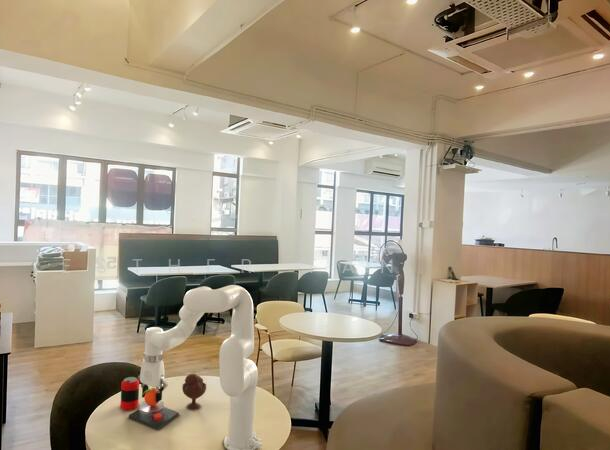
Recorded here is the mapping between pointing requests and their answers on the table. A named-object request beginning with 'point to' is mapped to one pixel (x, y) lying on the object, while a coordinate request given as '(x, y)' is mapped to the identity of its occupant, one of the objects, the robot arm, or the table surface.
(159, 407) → the pan
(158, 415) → the button
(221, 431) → the table surface
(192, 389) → the ice cream bowl
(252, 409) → the robot arm
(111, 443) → the table surface
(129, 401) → the soda can
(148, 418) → the scale
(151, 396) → the clementine
